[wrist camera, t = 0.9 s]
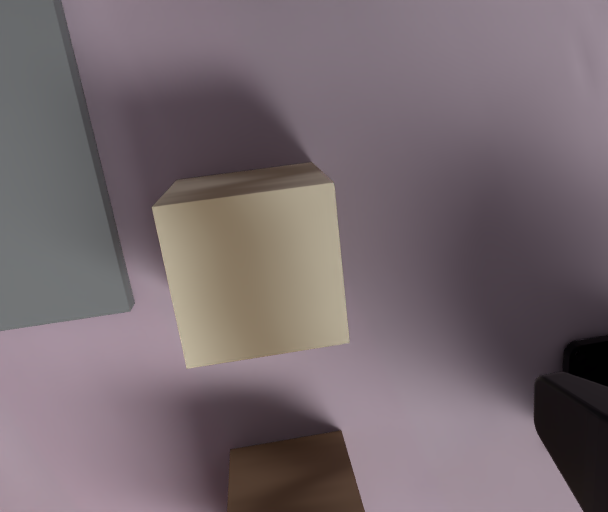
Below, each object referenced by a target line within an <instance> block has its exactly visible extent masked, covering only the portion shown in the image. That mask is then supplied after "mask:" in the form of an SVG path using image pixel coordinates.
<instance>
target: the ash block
mask: <svg viewBox="0 0 608 512" xmlns="http://www.w3.org/2000/svg"><path fill="white" fill-rule="evenodd" d="M152 211H153V215H154V220H155V225H156V229H157V234H158V238H159V243H160V248H161V252H162V257H163V261H164V266H165V271H166V275H167V280H168V284H169V289H170V294H171V298H172V303H173V307H174V312H175V317H176V321H177V326H178V330H179V335H180V340H181V344H182V349H183V353H184V358H185V363H186V367H187V369H189V368H195V367H201V366H208V365H214V364H220V363H227V362H233V361H239V360H246V359H252V358H258V357H264V356H271V355H277V354H283V353H290V352H296V351H302V350H309V349H315V348H321V347H327V346H334V345H340V344H346V343H349V332H348V322H347V311H346V301H345V291H344V280H343V270H342V260H341V249H340V239H339V229H338V218H337V208H336V198H335V187H334V182H333V181H332V180H331V179H330V178H329V177H327V176H326V175H325V174H324V173H323V172H322V171H321V170H320V169H319V168H318V167H317V166H315V165H314V164H313V163H312V162H308V163H301V164H293V165H286V166H278V167H270V168H263V169H255V170H248V171H240V172H232V173H225V174H217V175H210V176H202V177H194V178H187V179H179V180H176V181H175V182H174V183H173V185H172V186H171V187H170V188H169V189H168V190H167V191H166V192H165V193H164V194H163V195H162V196H161V198H160V199H159V200H158V201H157V202H156V203H155V204H154V205H153V206H152Z"/></svg>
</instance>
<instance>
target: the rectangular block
mask: <svg viewBox="0 0 608 512" xmlns="http://www.w3.org/2000/svg"><path fill="white" fill-rule="evenodd" d="M227 512H365V510H364V507H363V504H362V500H361V497H360V493H359V490H358V486H357V483H356V479H355V476H354V473H353V469H352V466H351V462H350V459H349V455H348V452H347V448H346V445H345V441H344V438H343V435H342V431H341V430H340V431H335V432H329V433H323V434H317V435H311V436H305V437H300V438H294V439H288V440H282V441H276V442H271V443H265V444H259V445H253V446H247V447H242V448H236V449H230V463H229V484H228V504H227Z"/></svg>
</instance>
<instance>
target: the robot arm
mask: <svg viewBox="0 0 608 512" xmlns="http://www.w3.org/2000/svg"><path fill="white" fill-rule="evenodd" d="M578 351H580V352H579V353H578V354H577V355H576V356H575V354H576V353H577V352H578ZM534 424H535V428H536V431H537V433H538V435H539V437H540V439H541V441H542V442H543V444H544V446H545V447H546V449H547V451H548V452H549V454H550V456H551V457H552V459H553V461H554V463H555V464H556V466H557V468H558V469H559V471H560V473H561V474H562V476H563V478H564V479H565V481H566V483H567V485H568V486H569V488H570V490H571V491H572V493H573V495H574V496H575V498H576V500H577V502H578V503H579V505H580V507H581V508H582V510H583V512H608V336H602V337H596V338H590V339H584V340H578V341H574V342H571V343H570V344H568V345H567V347H566V348H565V350H564V360H563V372H556V373H550V374H545V375H540V376H538V377H537V378H536V380H535V384H534Z"/></svg>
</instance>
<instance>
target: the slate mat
mask: <svg viewBox="0 0 608 512" xmlns="http://www.w3.org/2000/svg"><path fill="white" fill-rule="evenodd" d="M134 304H135V302H134V298H133V294H132V290H131V286H130V281H129V277H128V273H127V269H126V265H125V261H124V257H123V253H122V249H121V244H120V240H119V236H118V232H117V228H116V224H115V220H114V216H113V212H112V208H111V203H110V199H109V195H108V191H107V187H106V183H105V179H104V175H103V171H102V167H101V162H100V158H99V154H98V150H97V146H96V142H95V138H94V134H93V130H92V126H91V121H90V117H89V113H88V109H87V105H86V101H85V97H84V93H83V89H82V85H81V80H80V76H79V72H78V68H77V64H76V60H75V56H74V52H73V48H72V44H71V39H70V35H69V31H68V27H67V23H66V19H65V15H64V11H63V7H62V2H61V0H0V331H4V330H10V329H17V328H24V327H30V326H37V325H44V324H50V323H57V322H64V321H70V320H77V319H84V318H90V317H97V316H104V315H110V314H117V313H124V312H130V311H131V309H132V307H133V306H134Z"/></svg>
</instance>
